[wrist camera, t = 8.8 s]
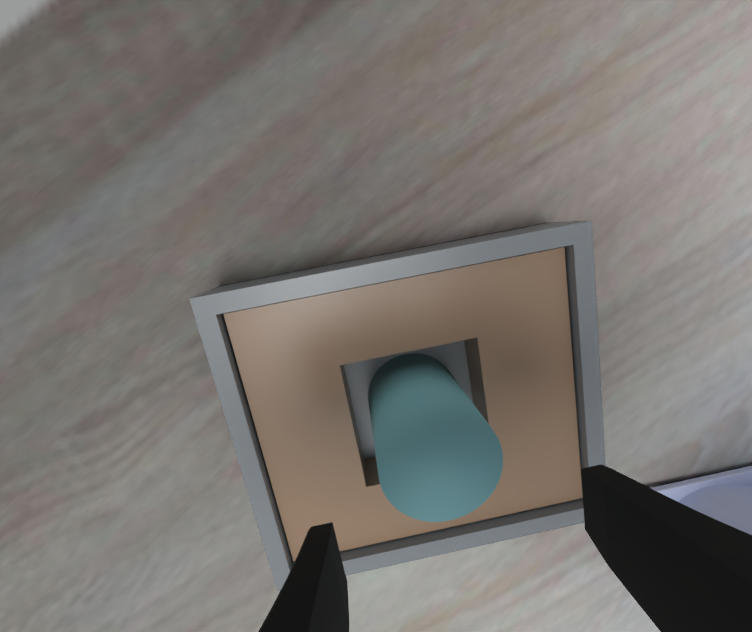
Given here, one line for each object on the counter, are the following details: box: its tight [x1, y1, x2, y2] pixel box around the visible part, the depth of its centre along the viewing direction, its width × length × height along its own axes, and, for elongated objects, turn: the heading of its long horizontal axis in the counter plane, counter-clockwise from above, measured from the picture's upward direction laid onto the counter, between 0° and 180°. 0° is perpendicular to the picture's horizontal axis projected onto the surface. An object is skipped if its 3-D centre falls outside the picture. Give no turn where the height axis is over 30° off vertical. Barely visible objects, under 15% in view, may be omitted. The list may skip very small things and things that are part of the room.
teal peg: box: [368, 353, 503, 522], centre depth 16 cm, size 4×4×6 cm
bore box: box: [190, 221, 605, 591], centre depth 18 cm, size 16×14×4 cm
